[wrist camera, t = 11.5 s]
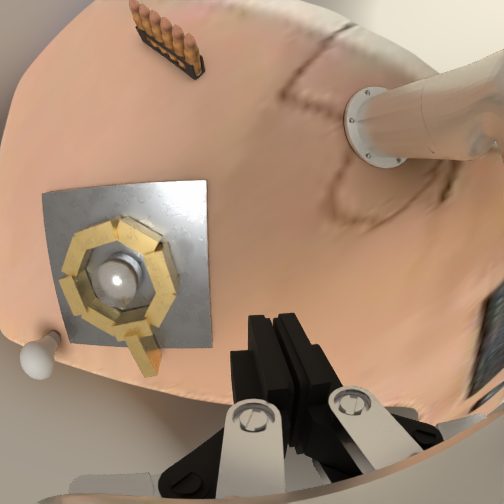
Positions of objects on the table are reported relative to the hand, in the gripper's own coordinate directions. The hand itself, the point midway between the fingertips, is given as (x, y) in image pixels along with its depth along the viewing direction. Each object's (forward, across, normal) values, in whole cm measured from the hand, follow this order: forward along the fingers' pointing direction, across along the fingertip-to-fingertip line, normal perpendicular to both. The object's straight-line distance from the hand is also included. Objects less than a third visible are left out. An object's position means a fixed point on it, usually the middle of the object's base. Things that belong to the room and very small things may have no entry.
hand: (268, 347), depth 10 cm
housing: (+29, +15, +7) cm, 33 cm away
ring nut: (+27, +14, +10) cm, 32 cm away
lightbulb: (+29, +31, +19) cm, 47 cm away
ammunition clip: (+29, +8, -23) cm, 38 cm away
